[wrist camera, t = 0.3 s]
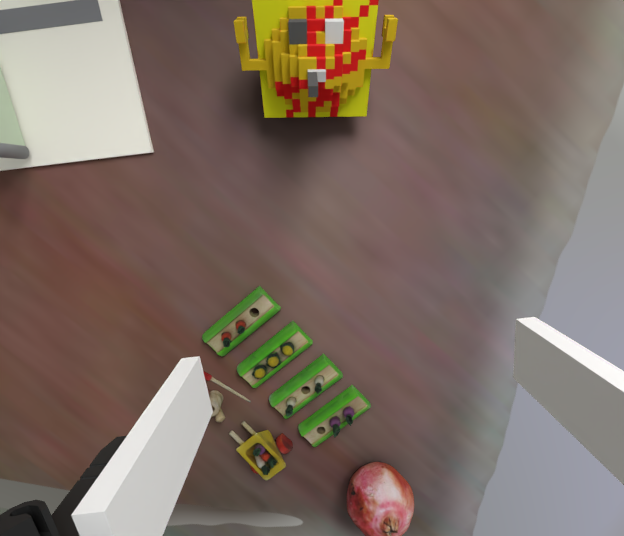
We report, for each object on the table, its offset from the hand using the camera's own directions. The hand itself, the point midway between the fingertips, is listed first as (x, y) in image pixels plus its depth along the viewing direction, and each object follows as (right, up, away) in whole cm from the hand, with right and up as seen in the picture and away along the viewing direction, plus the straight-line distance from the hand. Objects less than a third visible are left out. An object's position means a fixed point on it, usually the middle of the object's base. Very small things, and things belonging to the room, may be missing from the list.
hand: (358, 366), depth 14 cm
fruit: (+8, -27, +36) cm, 46 cm away
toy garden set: (-8, -12, +33) cm, 36 cm away
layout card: (-30, +28, +21) cm, 46 cm away
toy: (-2, +25, +22) cm, 33 cm away
